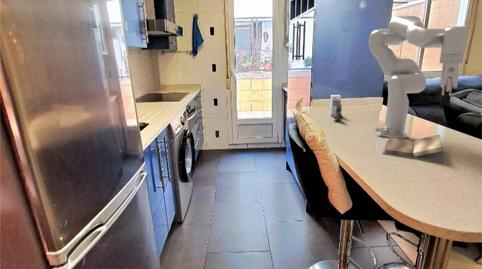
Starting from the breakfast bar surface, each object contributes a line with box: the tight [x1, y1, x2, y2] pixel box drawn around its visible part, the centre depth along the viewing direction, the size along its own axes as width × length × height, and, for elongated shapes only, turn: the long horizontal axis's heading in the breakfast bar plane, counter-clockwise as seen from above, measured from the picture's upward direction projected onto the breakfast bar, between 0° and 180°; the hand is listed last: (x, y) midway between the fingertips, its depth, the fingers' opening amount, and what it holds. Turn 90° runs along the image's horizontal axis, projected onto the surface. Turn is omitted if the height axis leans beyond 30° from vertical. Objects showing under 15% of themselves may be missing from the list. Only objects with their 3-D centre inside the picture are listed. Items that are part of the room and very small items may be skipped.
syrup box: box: [329, 94, 342, 118], centre depth 192 cm, size 6×6×14 cm
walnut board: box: [385, 138, 414, 157], centre depth 127 cm, size 10×20×2 cm, turn 148°
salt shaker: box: [333, 103, 344, 123], centre depth 178 cm, size 6×6×12 cm
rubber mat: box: [382, 139, 445, 164], centre depth 125 cm, size 22×22×1 cm
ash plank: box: [413, 134, 444, 156], centre depth 121 cm, size 10×20×2 cm, turn 148°
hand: (444, 104), depth 117 cm, fingers closed
